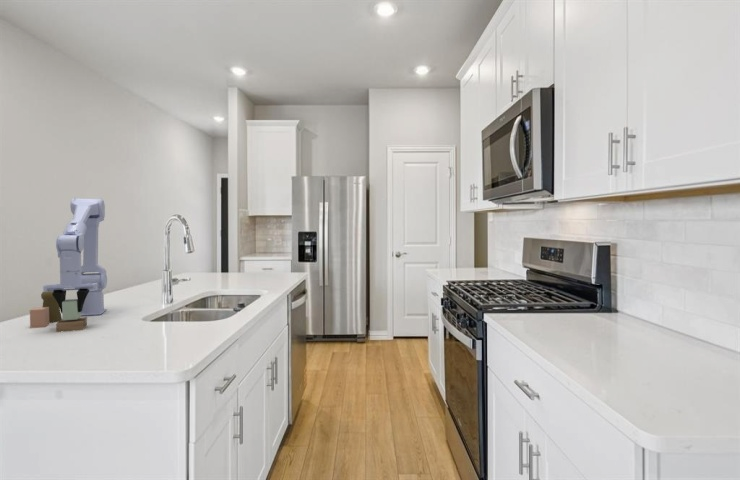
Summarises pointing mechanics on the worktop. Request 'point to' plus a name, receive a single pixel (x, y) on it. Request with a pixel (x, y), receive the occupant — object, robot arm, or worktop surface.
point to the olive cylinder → (51, 306)
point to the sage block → (70, 309)
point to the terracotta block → (39, 317)
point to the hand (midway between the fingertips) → (71, 312)
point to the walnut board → (71, 324)
